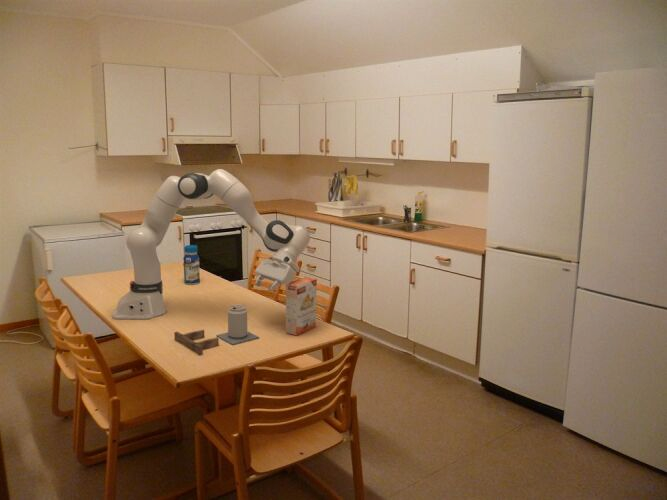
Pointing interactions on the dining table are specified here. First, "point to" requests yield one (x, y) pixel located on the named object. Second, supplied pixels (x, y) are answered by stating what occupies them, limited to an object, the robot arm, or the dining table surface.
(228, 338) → the slate mat
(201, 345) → the walnut cradle
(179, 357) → the dining table surface
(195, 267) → the beverage bottle
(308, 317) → the cracker box
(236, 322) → the can
